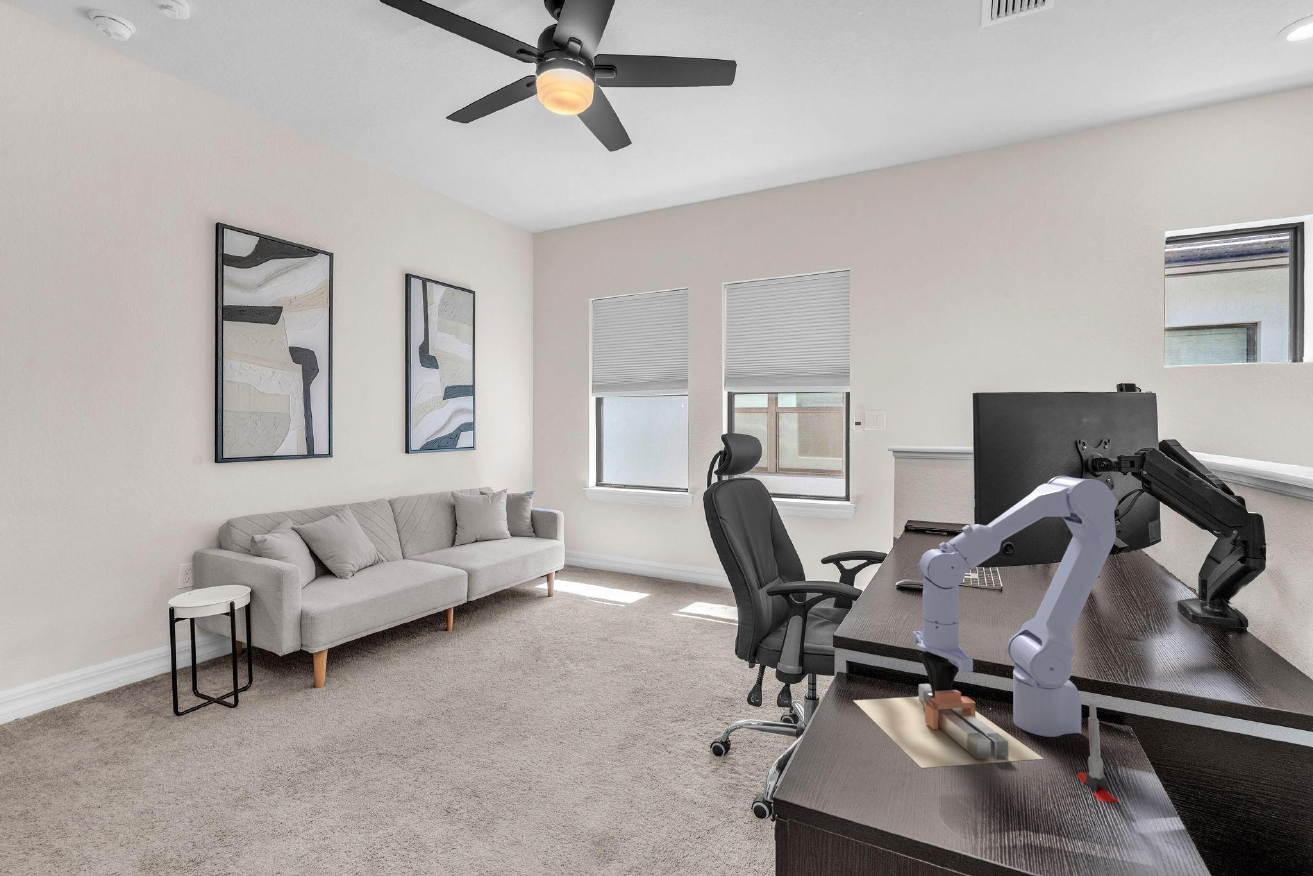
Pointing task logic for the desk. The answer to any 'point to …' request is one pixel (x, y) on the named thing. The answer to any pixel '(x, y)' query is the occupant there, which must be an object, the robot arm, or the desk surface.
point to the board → (931, 734)
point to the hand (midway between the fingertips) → (940, 697)
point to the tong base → (973, 725)
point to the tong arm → (964, 734)
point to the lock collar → (946, 705)
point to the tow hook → (1095, 761)
